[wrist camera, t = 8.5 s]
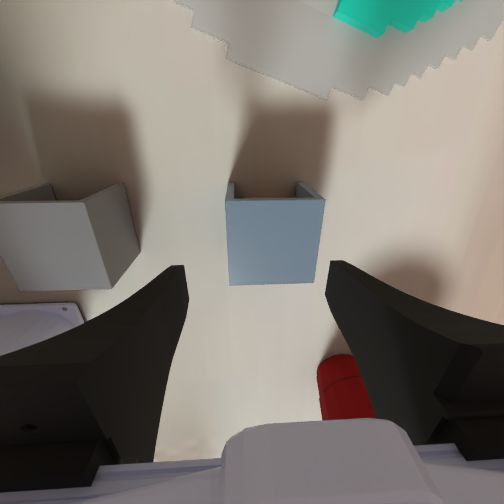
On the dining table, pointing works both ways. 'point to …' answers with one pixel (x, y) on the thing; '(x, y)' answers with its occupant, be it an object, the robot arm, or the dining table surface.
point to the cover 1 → (67, 239)
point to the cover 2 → (273, 237)
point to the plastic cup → (342, 390)
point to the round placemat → (345, 38)
